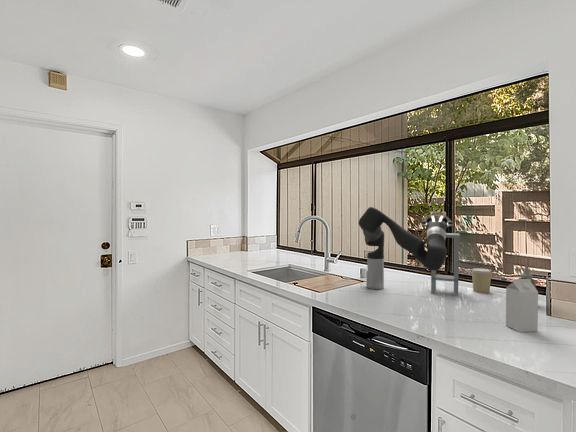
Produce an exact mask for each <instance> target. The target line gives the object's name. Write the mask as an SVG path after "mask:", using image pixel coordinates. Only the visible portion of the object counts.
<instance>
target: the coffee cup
mask: <svg viewBox="0 0 576 432" xmlns="http://www.w3.org/2000/svg"><path fill="white" fill-rule="evenodd" d="M492 273H493V272H492V270H491V269H487V268H481V267H480V268H478V267H477V268H475V267H474V268H472V269H471V275H472V277H471V278H472V279H471V280H472V290H473V292H474V293H478V294H489V293H490V292H491V291H490V290H491V279H492Z"/></svg>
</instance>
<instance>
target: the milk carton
mask: <svg viewBox="0 0 576 432" xmlns="http://www.w3.org/2000/svg"><path fill="white" fill-rule="evenodd" d="M535 287H536V286H535ZM535 287H534V285H533V284H532V283H531V279H519V278H517V279H512V282H511V283H510V284H509V285H507V286H506V290H505V326H507V327H509V328H511V329H513V330H514V331H517V332H519V333H528V332H538V330H539V329H538V326H539V323H538V322H539V291H538V290H537V287H536V288H535Z"/></svg>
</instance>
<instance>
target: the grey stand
mask: <svg viewBox="0 0 576 432" xmlns="http://www.w3.org/2000/svg"><path fill="white" fill-rule="evenodd" d="M446 238H452V239H454V241H453V246H454V248H453V275H445V274H444V275H443V274H437V270H430V272H431V273H430V290H431V291H430V294H436V290H437V281H445V282H453V296H454V297H459V273H460V272H459V270H460V269H459V267H460V266H459V265H460V263H459V261H460V259H459V254H460V253H459V251H460V249H459V248H460V247H459V246H460V245H459V244H460V243H459V241H460V239H461V235H460V233H458V232H457V233H456V232H455V233H454V232H453V233H452V232H451V233H450V232H449V233H448V232H446Z"/></svg>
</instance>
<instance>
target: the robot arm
mask: <svg viewBox="0 0 576 432" xmlns="http://www.w3.org/2000/svg"><path fill="white" fill-rule="evenodd" d="M432 212H433V213H432V215H431V214H430V215H429V216H426V217H425V218H424V219H423V220H421V223H420V224H421V227H423V228H424V227H426V228H427V230H426V241H425V240H423V239H422V238H419V236H417V235H415V234H413V233H411V232H410V231H408V230H407V229H405V228H403V226H401V225H400V224H399V223H397V222H396V221H395V220H393V219H392V218H390V217H389V216H388V215H386V214H385V213H383V212H382V211H381V210H379V209H378V208H376V207H372V206H370V207H368V208H367V209H366V211H364V213H363V215H362V216H361V217H360V218H359V220H358V225H359V227H360V229H361V230H362V233H363V235H364V242H365V245H367V246H369V247H377V249H375V250H372V251H369V252H367V261H366V263H367V267H366V268H367V270H366V273H365V274H366V280H365V281H366V282H365V283H366V285H365V286H366V287H365V288H367V289H371V290H383V289H385V270H384V269H385V265H384V264H385V256H384V255H385V253H384V252H385V251H384V250H385V232H384V230H382V227H381V226H382V224H383V223H384V224H386V226H387V227H388V228H389V230H390V232H391V234H392V236H393V239H394V240H395V242H396V244H398V245H399V246H400V248H403V249H404V250H406V251H407V252H408V253H411V254H412V255H413V256H414V258H415V259H417V260H418V262H420V264H422V265H421V266H423V267H424V268H426V269H427V270H430V271H431V270H436V271H438V270H440V269H441V268H442V266H443V264H444V261H445V260H446V257H447V252H448V249H447V247H446V238H447V237H446V233H447V229H448V227H450V228H453V227H454V222H453V221H452V220H451V219H450V217H448V216H447V215H446V216H445V217H443V213H442V212H443V211H439V212H440V218H439V219H435V218H434V215H435V212H436V211H432ZM425 242H426V244H425ZM425 245H426V246H425ZM426 249H427V250H426Z"/></svg>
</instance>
